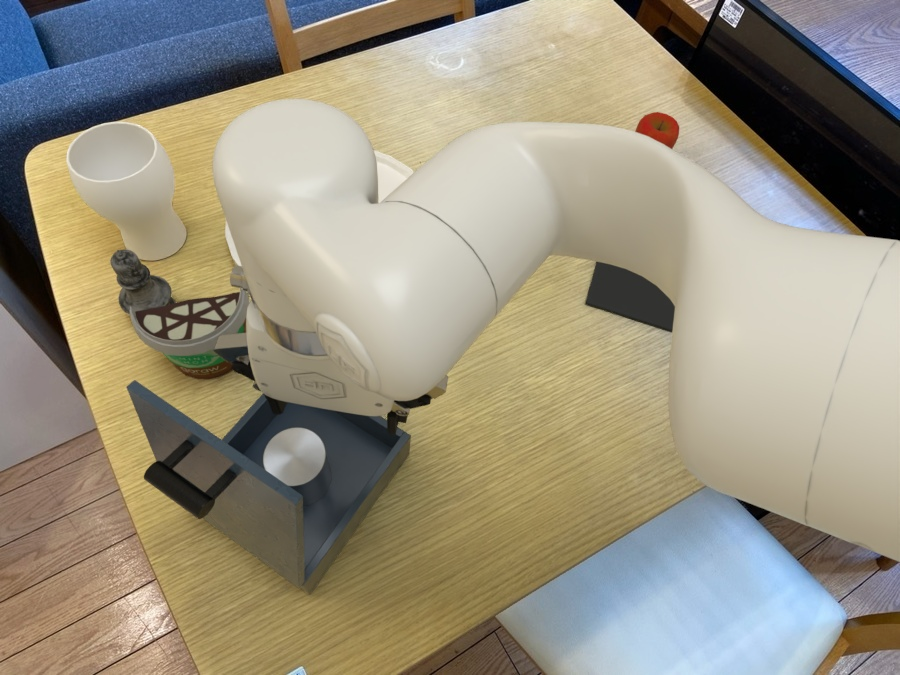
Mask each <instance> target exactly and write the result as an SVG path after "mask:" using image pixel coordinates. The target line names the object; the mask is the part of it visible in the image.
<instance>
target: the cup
mask: <svg viewBox="0 0 900 675" xmlns="http://www.w3.org/2000/svg"><path fill="white" fill-rule="evenodd" d="M65 159H66V166H67V170H68V173H69V178H70V181H71V184H72V186H73V187H74V189H75V191H76V193H77V194H78V196H79V197H80V199H81V200H82V202H84V203H85V204H86V205H87V206H88V207H89V208H90V209H91V210H92V211H93V212H95V213H96V214H97V215H98V216H100V217H101V218H103V219H105V220H108V221H109V222H112V223H113V224H114V225H115V226H116V227H117V228H118V229H119V232H120V235H121V239H122V241H123V244H124V247H125V249H126V250H131V251H133V252H134V253H135V254H136V255H137V256H138V258H139V260H142V261H159V260H164V259H167V258H169V257H171V256H173V255H174V254H175V253H177V252H178V251H180V249H182V247H183V246H184V244H185V242H186V240H187V235H188V233H187V228H186V226H185V224H184V222H183V221H182V219H181V217H180V216H179V215H178V214H177V212H176V211H175V210H174V206H173V199H174V196H175V190H176V177H175V170H174V166H173V164H172V162H171V159H170V155H168V152H167V151H166V148H164V146H163V145H162V143H160V141H159V140H158V139H157V138H156V136H155V135H154V134H153V133H152V132H151V131H150V130H149V129H148V128H146V127H145V126H142V125H139V124H137V123H135V122H134V123H133V122H129V121H110V122H104V123H101V124H97V125H94V126H92V127H90V128H88V129H86V130H84V131H82V132H81V133H79V134H78V135H77V136H76V137H74V139H73V140H72V142H71V143H70V144H69V146H68V148H67V152H66V158H65Z"/></svg>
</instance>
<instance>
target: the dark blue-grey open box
mask: <svg viewBox="0 0 900 675" xmlns="http://www.w3.org/2000/svg"><path fill="white" fill-rule="evenodd" d="M289 428H305V429H308V430H311V431H313V432H314V433H316V434H317V435H318V436H319V437H320V438H321V440H322V441H323V443H324V446H325V449H326V453H327V457H328V461H329V465H330V468H331V473H332V478H331V484H330V487H329V489H328V491H327V492H326V493H325V495H324V496H323V497H322V498H321V499H319V500H318V501H316V502H314V503H312V504H310V505H306V506H303V529H304V573H305V582H304V583H303V585H302V586H301V587H300V588H299V590H302V591H303V592H304V593H306V594H307V595H308V596H311V595H312V594H313V592H314V591H315V589H316V588H317V586H318V585H319V583H320V582H321V581H322V579H323V578H324V577H325V574H327V572H328V571H329V569H330V568H331V566H332V565H333V564H334V562H335V561H336V559H337V558H338V557H339V555H340V554H341V552H342V551H343V550H344V548H345V547H346V546H347V544H348V542H350V540H351V538H352V536H353V535H354V534H355V532H356V531H357V529H358V528H359V527H360V525H361V524H362V523H363V521H364V519H366V517H367V515H368V514H369V512H370V511H371V510H372V508H373V507H374V506H375V504H376V503H377V502H378V500H379V499H380V497H381V495H382V494H383V493H384V491H385V490H386V488H387V487H388V486H389V484H390V483H391V481H392V480H393V479H394V477H395V476H396V475H397V473H398V472H399V470H400V469H401V467H402V465H403V464H404V463H405V461H406V460H407V459H408V457H409V456H410V452H411V438H412V437H411V436H412V435H411V434H410V433H408V432H406V431H405V430H403V428H400V427H399V426H397V431H396V435H391V434H389V432H387V418H385V417H383V416H365V415H358V414H352V413H346V412H340V411H334V410H328V409H322V408H317V407H311V406H306V405H300V404H295V403H290V402H286V405H285V408H284V411H283V413H281V414H280V415H278V414H273V412H272V409H271V407H270V404H269V402H268V399H266V398H265V395H264V393H263V392H262V394H261V395H259V397H258V398H257V399H256V400H255V402H254V403H252V405H251V406H250V407H249V409H248V410H246V412H245V413H244V414H243V415H242V416H241V417H240V418H239V420H238V421H237V422H236V423H235V424H234V425H233V426H232V427H231V428H230V430H229V431H228V432H226V434H225V435H224V437H222V438H221V440H223V441H224V442H225V443H227V444H228V445H230V446H231V447H233V448H234V449H236V450H237V451H238V452H240V453H241V454H243V455H244V456H246V457H247V458H249V459H250V460H252V461H253V462H254V463H256V464H257V465H259V466H260V467H262V468H263V469H265V468H264V465H263V455H264V451H265V448H266V446H267V444H268V443H269V441H270V440H271V439H272V438H273V437H274V436H275V435H277V434H278V433H280V432H281V431H283V430H286V429H289Z"/></svg>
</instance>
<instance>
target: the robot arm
mask: <svg viewBox="0 0 900 675" xmlns="http://www.w3.org/2000/svg"><path fill="white" fill-rule="evenodd" d="M635 131H636V130H635ZM635 131H634V130H631V129H628V128H623V127H619V126H614V125H607V124H598V123H583V122H582V123H581V122H560V121H559V122H556V121H509V122H500V123H492V124H489V125H484V126H481V127H478V128H476V129H472V130H468V131H467V132H465V133H462V134H461V135H459V136H458V137H455V138H454V139H452V140H451V141H450V142H448V143H447V144H446V145H444V147H442V148H440V149H439V150H438V151H437V152H436V153H435V154H433V155H432V156H431V157H430V158H428V160H426V161H425V162H423V164H422V165H420V166H419V167H418V168H417V169H416V170H415V171H414V173H413V174H412V175H411V176H409V177H408V178H407V179H406V180H405V181H404V182H403V183H402V184H400V185H399V186H398V187H397V188H396V189H395V190H394V191H393V192H391V193H390V194H389V195H388V196H387V197H386V198H385V199H384V200H382V201H381V202H380V203H379V202H378V174H377V161H376V156H375V153H374V150H375V149H374V147H373V143H372V141H371V140H370V139H369V137H368V136H369V135H368V134H367V132H366V131H365V130H364V128H363V127H362V126H361V125H360V124H359V123H358V121H356V120H355V119H354V118H353V117H352V116H350V115H349V114H347V113H346V112H345V111H343V110H342V109H340V108H338V107H337V106H334V105H331V104H328V103H326V102H323V101H318V100H314V99H307V98H297V97H296V98H282V99H276V100H270V101H266V102H263V103H260V104H258V105H255V106H252V107H251V108H248V109H247V110H244V111H243V112H242V113H240V114H239V115H238V116H236V117H235V118H234V119H232V121H231V122H230V123H229V124H227V126H226V127H225V129H224V130H223V132H222V133H221V134H220V136H219V138H218V140H217V142H216V145H215V147H214V150H213V155H212V162H211V164H212V165H211V170H212V171H211V172H212V178H213V183H214V188H215V191H216V194H217V197H218V200H219V203H220V206H221V209H222V212H223V215H224V217H225V218H224V219H225V222H226V221H227V224H228V227H229V230H230V233H231V235H232V238H233V241H234V244H235V247H236V250H237V253H238V256H239V259H240V262H241V265H242V266H237V265H235V264H234V265H233V267H232V269H231V272H230V276H229V277H230V278H229V283H230V286H231V287H232V288H237V289H240V288H242V289H243V290H244V291H246V292H247V294H248V295H249V297H250V300H249V305H248V308H247V316H246V333H237V334H227V335H220V336H219V337H218V340H217V342H216V345H215V347H214V350H213V351H214V352H215V353H216V354H217V355H218V356H220V357H221V358H222V359H224V360H225V361H226V362H228V363H229V362H230V363H232V367H231V368H232V369H233V370H232V371H234V372H235V373H236V374H240V375H242V376H244V377H246V378H247V379H249V380H251V381H253V383H252V388H253V389H255V390H256V391H260V392H262V394H263V393H264V395H265V398H266V399H268V402H269V404H270V407H271V409H272V412H273V414H278V415H280V414H281V413H283V411H284V408H285V405H286V402H290V403H295V404H300V405H306V406H311V407H317V408H322V409H328V410H334V411H340V412H346V413H352V414H358V415H365V416H381V417H383V416H385V415H386V420H387V432H389V434H391V435H396V431H397V427H399V426H398V425H399V423H400V424H407V420H408V417H409V415H410V411H411V410H412V409H416V408H420V407H425V406H429V405H430V404H431V403H432V400H433V399H434V400H436V399H437V398H439V397H441V396H442V395H445V394H446V393H447V388H448V382H449V376H448V374H449V373H450V371H451V370H452V369H453V368H454V367H455V366H456V364H457V363H458V362H459V361H460V360H461V358H463V356H464V355H465V354H466V353H467V352H468V351H469V349H470V348H471V347H472V346H473V345H474V343H475V342H476V341H477V340H478V339H479V338H480V336H481V335H482V334H483V333H484V331H485V330H486V329H487V328H488V327H489V326H490V325H491V324H492V322H493V321H494V320H495V319H496V318H497V317H498V315H500V313H501V312H502V311H503V310H504V309H505V307H506V306H507V305H508V304H509V302H511V300H512V299H513V298H514V297H515V296H516V295H517V294H518V292H519V291H520V290H521V289H522V287H523V286H524V285H525V284H526V283H527V282H528V281H529V279H530V278H531V277H532V276H533V275H534V274H535V273H536V271H538V269H540V267H541V266H542V265H543V264H544V263H545V261H546V260H547V259H548V258H549V257H550V256H557V257H558V256H559V257H569V258H575V259H580V260H586V261H591V262H595V263H596V262H602V263H607V264H611V265H614V266H618V267H621V268H624V269H627V270H629V271H632V272H634V273H636V274H638V275H641V276H643V277H644V278H646V279H647V280H649V281H650V282H652V283H653V284H655V285H656V286H657V287H658V288H659V289H660V290H661V291H662V292H664V293H665V294H666V295H667V296H668V297H669V298H670V300H671V301H672V303H673V304H674V306H675V312H674V321H673V330H672V332H671V339H670V340H671V341H670V350H669V359H668V360H669V362H668V395H667V397H668V398H667V399H668V402H667V403H668V404H667V407H668V417H669V427H670V430H671V435H672V439H673V445H674V447H675V448H674V449H675V451H676V454H677V456H678V457H679V460H680V462H681V463H682V465H683V467H684V468H685V469H686V470H687V471H688V472H689V473H690V474H691V475H692V476H693V477H694V478H696V479H697V480H698V482H700V483H701V484H703V486H706V487H708V488H709V489H712V490H714V491H715V492H718V493H720V494H723V495H727V496H728V497H731V498H735V499H737V500H740V501H743V502H745V503H747V504H751V505H753V506H755V507H757V508H761V509H762V510H763V509H764V510H765V511H768V512H771V513H774V514H776V515H778V516H781V517H783V518H786V519H789V520H791V521H794V522H797V523H799V524H801V525H804V526H807V527H809V528H812V529H814V530H817V531H820V532H822V533H825V534H828V535H830V536H832V537H834V538H837V539H840V540H843V541H845V542H847V543H849V544H852V545H856V546H858V547H861V548H863V549H866V550H868V551H870V552H873V553H875V554H878V555H881V556H882V557H883V556H884V557H885V558H888V559H890V560H894V561H896V562H899V563H900V240H898V239H891V238H883V237H876V236H875V237H874V236H866V235H858V234H857V235H856V234H849V233H841V232H833V231H831V232H830V231H823V230H817V229H811V228H807V227H800V226H793V225H789V224H785V223H781V222H778V221H776V220H772V219H771V218H768V217H767V216H764V215H763V214H761V213H760V212H759V211H757V210H756V209H755V208H754V207H752V206H751V205H750V204H749V203H748V202H747V201H745V200H744V199H743V197H741V196H740V195H739V194H738V193H737V192H736V191H735V190H734V189H733V188H732V187H731V186H729V185H728V184H727V183H726V182H724V181H723V180H722V179H720V178H719V177H717V176H716V175H715V174H714V173H712V172H711V171H710V170H708V169H706V168H705V167H704V166H702V165H700V164H698V163H697V162H695V161H694V160H692V159H690V158H688V157H687V156H685V155H683V154H682V153H680V152H678V151H676V150H675V149H673V148H672V149H671V148H669V147H667V146H666V145H664V144H662V143H660V142H658V141H656V140H654V139H652V138H651V137H649V136H646V135H643V134H640V133H637V132H635Z"/></svg>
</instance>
